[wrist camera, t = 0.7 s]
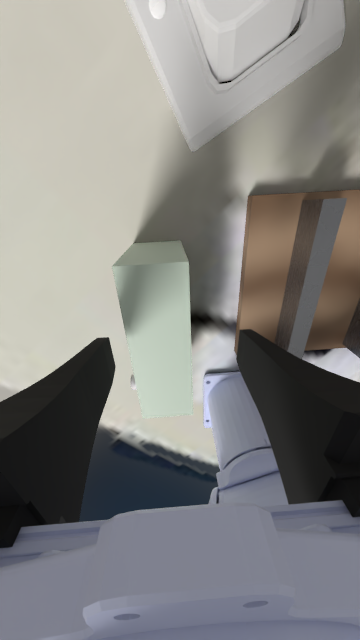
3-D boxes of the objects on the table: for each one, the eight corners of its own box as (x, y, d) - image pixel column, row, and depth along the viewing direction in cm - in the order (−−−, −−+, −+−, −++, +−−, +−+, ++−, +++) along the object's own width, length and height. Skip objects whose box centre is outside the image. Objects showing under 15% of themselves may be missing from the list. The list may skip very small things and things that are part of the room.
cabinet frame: (381, 339, 24) (417, 361, 21) (234, 350, 24) (246, 375, 20) (455, 184, 17) (530, 178, 14) (248, 196, 17) (269, 193, 13)
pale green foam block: (180, 240, 18) (188, 261, 11) (185, 353, 24) (193, 414, 17) (124, 243, 18) (96, 267, 11) (142, 356, 24) (132, 419, 17)
